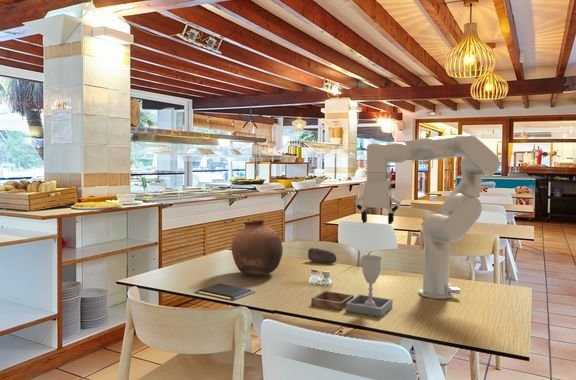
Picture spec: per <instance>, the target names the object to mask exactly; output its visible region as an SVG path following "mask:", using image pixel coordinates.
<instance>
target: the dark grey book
mask: <svg viewBox="0 0 576 380" xmlns="http://www.w3.org/2000/svg"><path fill="white" fill-rule="evenodd" d="M255 293H256V291H255V290H252V289H249V288H245V287H241V286H235V285H230V284H223V283H216V284H212V285H210V286H207V287H204V288H201V289H198V290H197V291H194V292H193V294H197V295H201V296H206V297H211V298H216V299H221V300H225V301H230V302H234V301H238V300H240V299H242V298H245V297H249V296H251V295H253V294H255Z"/></svg>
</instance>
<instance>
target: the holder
mask: <svg viewBox="0 0 576 380" xmlns="http://www.w3.org/2000/svg"><path fill="white" fill-rule="evenodd" d="M354 297H355V296H354V294H348V293H342V292H337V291H330V290H324V291H322V292H320V293H318V294H316V295H315V296H313V297H311V306H314V307H319V306H320V308H325V307H326V308H327V309H331V308H332V309H331V310H336V309H339V310H338V311H342V309H343V308H344V309H346V303H347V302H348V301H350V300H351V299H353V298H354ZM327 299H329V300H327ZM331 299H332V300H331ZM333 300H337V301H333ZM341 300H342V301H341ZM339 301H341V302H339ZM326 308H325V309H326ZM344 309H343V310H344Z"/></svg>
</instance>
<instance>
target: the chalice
mask: <svg viewBox="0 0 576 380" xmlns="http://www.w3.org/2000/svg"><path fill="white" fill-rule="evenodd" d="M360 256H361V259H362V264H361V265H362V266H361V267H362V269H361V271H362V274H363V278H364V279H365V281H366V283H367V284H369V285H368V289H367V290H368V293H367V296H369V299H368V300H367V301H366V302H365V304H364V306H370V307H376V304H375V302H374V301H372V296H373V295H374V294H373V290H374V289H373V284H375V283H376V281H377V279H378V278H379V275H380V273H381V261H382V259H383V256H379V255H374V254H365V255H360ZM376 308H377V307H376Z"/></svg>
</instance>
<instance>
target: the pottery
mask: <svg viewBox="0 0 576 380" xmlns="http://www.w3.org/2000/svg"><path fill="white" fill-rule="evenodd" d="M265 220H266V219H264V218H263V219H253V220H249V221H248V220H247V221H243V224H244V225H245V226H244V228H242V229H241V230H240V231H239V232H237V233H236V235H234V237H233V239H232V240H231V245H230V247H231V249H230V250H231V254H232V257H233V260H234V264H235V266H236V267H237V270H238V271H239V272H240V273H242V274H243V275H245V276H254V277H255V276H256V277H257V276H265V275H268V274H271V273H272V272H274V271H275V270H276V269H277V268H278V267H279V265H280V263H281V259H282V257H283V252H284V248H283V243H282V240H281V238H280V237H281V236H280V235H279V234H278V233H277V231H276V230H274V229H273V228H272V227H269V226H268V225H265V224H264V222H265Z"/></svg>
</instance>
